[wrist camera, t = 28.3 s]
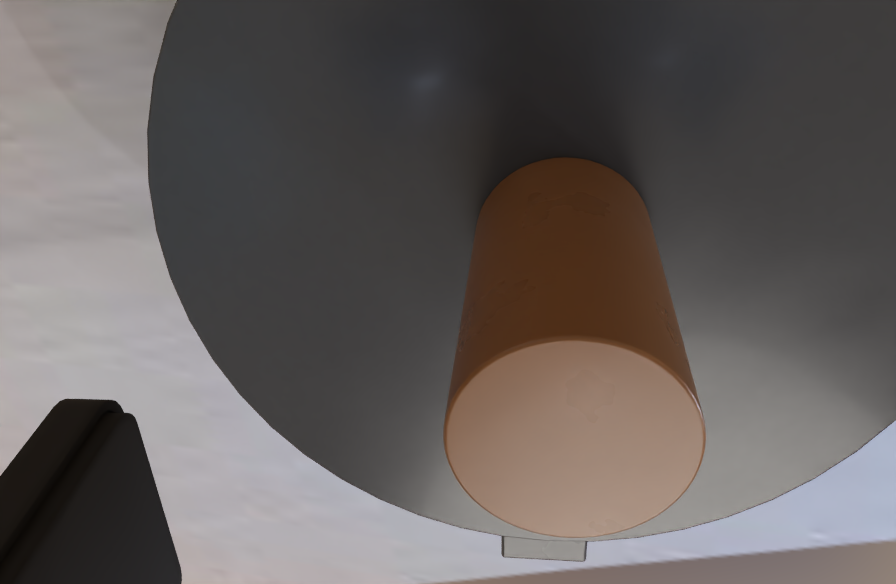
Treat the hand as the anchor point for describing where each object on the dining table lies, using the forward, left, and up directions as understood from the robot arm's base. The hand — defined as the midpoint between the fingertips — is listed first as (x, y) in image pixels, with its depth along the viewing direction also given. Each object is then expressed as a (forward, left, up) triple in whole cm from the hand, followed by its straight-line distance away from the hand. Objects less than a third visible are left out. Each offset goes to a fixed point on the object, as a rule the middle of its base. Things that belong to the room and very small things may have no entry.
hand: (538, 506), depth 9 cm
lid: (0, -1, -9) cm, 9 cm away
